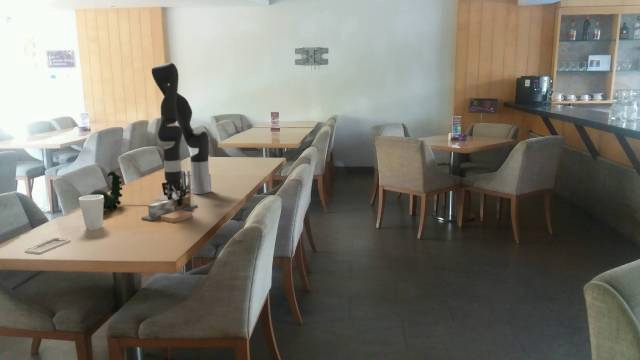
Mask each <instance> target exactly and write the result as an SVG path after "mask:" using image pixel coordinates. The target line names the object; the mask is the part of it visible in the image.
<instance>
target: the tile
mask: <svg viewBox="0 0 640 360" xmlns="http://www.w3.org/2000/svg"><path fill="white" fill-rule="evenodd" d="M189 217H191V218H192V217H194V215H193V212H191V211H188V210H187V211H181V210H179V211H176V212H172V213H169V214H166V215H162V216H161V218H160V221H162V220H164V221H163V222H167V221H169V222H168V223H172V222H175V223H178V222H181V221H184V220H187V219H190V218H189ZM186 218H187V219H186ZM183 219H184V220H183ZM180 220H181V221H180ZM177 221H178V222H177Z"/></svg>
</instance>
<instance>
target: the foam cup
mask: <svg viewBox="0 0 640 360" xmlns="http://www.w3.org/2000/svg"><path fill="white" fill-rule="evenodd" d="M78 201H79V202H78V203H79V204H78V205H80V210H81V213H82V217H83V221H84V225H85V228H86V230H90V231H91V230H92V231H93V230H98V229H102V228H103V226H104V225H103V224H104V209H103V203H104V196H103V195H90V194H89V195H88V194H87V195H84V196H83V195H82V196H80V197H79V198H78Z"/></svg>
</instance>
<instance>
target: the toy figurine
mask: <svg viewBox="0 0 640 360" xmlns="http://www.w3.org/2000/svg"><path fill="white" fill-rule="evenodd" d="M110 176H111V187H110V190H111V191H110V193H108V192H106V191H105V190H102V189H95V190H93V191H92V192H91V193H89V195H103V196H104V203H103V210H108V211H113V209H115V210H117V209H118V207H119V206H120V205H121V204H122V202H121V200H120V199H119V198H121V197H123V193H121V192H120V191H122V190H123V187H122V186H120V185H122V183H123V181H121V180H120V179H121V178H122V176H121V175H119V174H117V173H116V171H113V170H110V171H108V173H107V177H108V178H109V177H110Z"/></svg>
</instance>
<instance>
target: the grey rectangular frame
mask: <svg viewBox="0 0 640 360" xmlns="http://www.w3.org/2000/svg"><path fill="white" fill-rule="evenodd" d="M59 240H65V241H62V242H60V243H58V244H55V245H53V246H50V247H48V248H45V249H42V250H39V251H38V250H31V249H33V248H38V247H42V246H44V245H47V244H49V243H52V242H54V241H59ZM70 242H71V238H63V237H54V238H51V239H49V240H46V241H44V242H42V243H39V244H36V245H33V246H30V247H28V248H26V249H24V253H28V254H36V255H37V254H38V255H42V254H44V253H46V252H49V251H52V250H53V249H56V248H59V247H61V246H64V245H65V244H68V243H70Z"/></svg>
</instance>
